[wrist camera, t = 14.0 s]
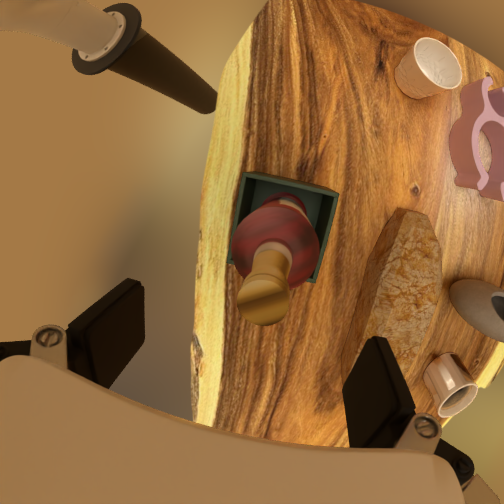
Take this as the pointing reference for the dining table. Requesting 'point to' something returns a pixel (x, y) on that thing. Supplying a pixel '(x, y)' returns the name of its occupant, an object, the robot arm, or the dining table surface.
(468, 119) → the clip
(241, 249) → the liquor
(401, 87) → the white cup
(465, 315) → the planter
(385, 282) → the bread
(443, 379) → the mug
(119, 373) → the robot arm
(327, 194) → the green square box
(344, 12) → the dining table surface
